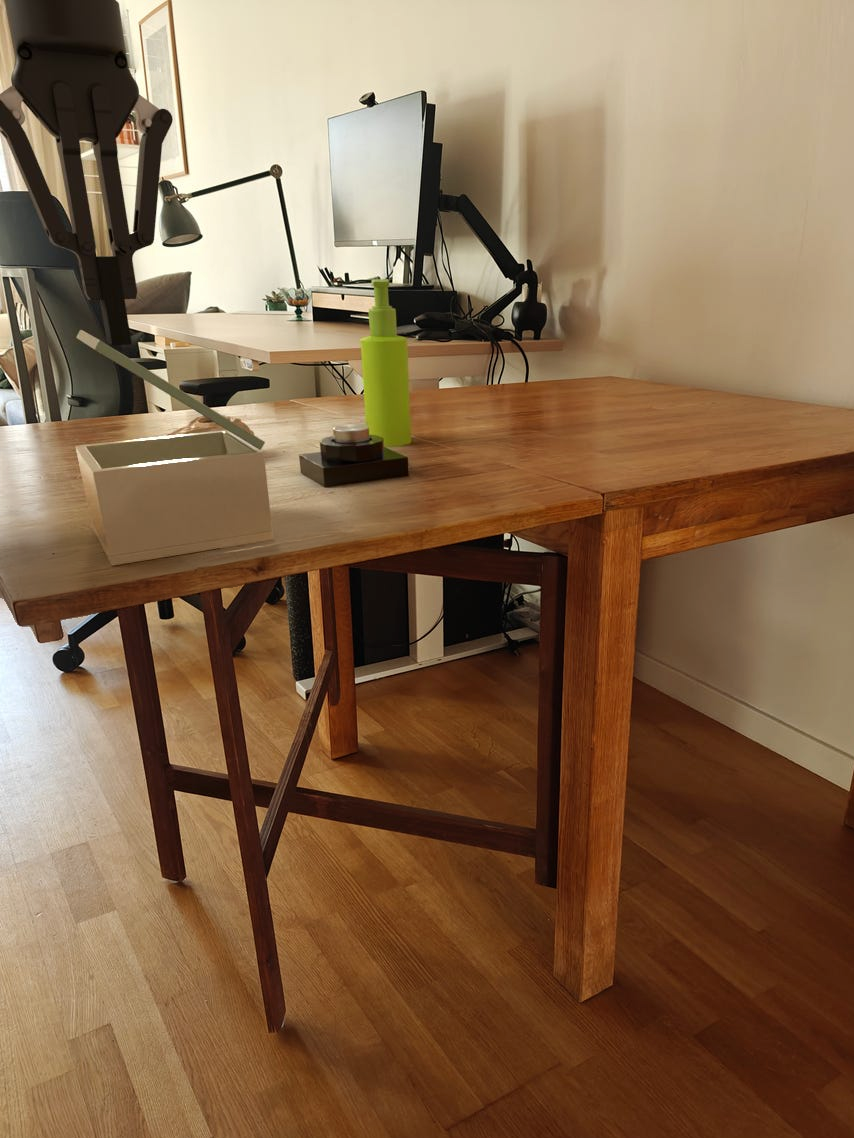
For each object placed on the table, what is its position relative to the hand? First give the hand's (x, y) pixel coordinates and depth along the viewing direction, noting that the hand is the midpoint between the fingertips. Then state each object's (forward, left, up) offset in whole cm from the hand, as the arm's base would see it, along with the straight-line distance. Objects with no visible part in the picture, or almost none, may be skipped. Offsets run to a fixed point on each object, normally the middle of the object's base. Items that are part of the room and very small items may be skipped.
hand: (119, 343), depth 70 cm
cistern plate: (+24, +13, -17) cm, 32 cm away
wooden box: (+2, 0, -17) cm, 17 cm away
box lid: (+3, 0, -4) cm, 5 cm away
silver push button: (+24, +13, -13) cm, 31 cm away
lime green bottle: (+35, +28, -17) cm, 48 cm away
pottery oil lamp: (+11, +29, -17) cm, 35 cm away
